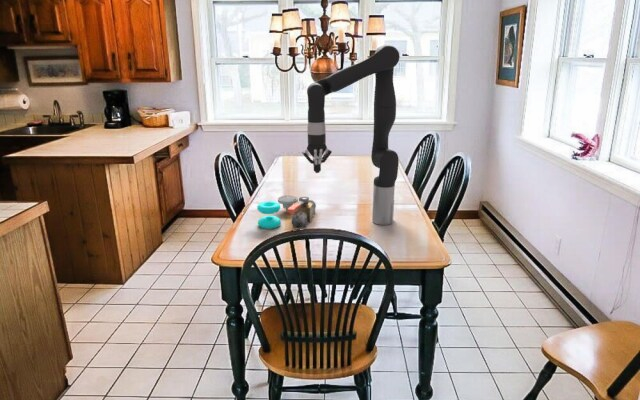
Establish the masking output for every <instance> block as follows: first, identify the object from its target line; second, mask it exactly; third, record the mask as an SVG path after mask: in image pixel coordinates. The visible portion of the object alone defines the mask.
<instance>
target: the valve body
mask: <svg viewBox="0 0 640 400" xmlns="http://www.w3.org/2000/svg"><path fill="white" fill-rule="evenodd" d="M316 207H317V205H316V202H315V201H314V200H312V199H309V204H305V205H302V206H301V208H300V209H298V210H297V211H296V212H295V213H294V215H293V217H292V218H291V225H292V227H294V228H295V229H301V228H307V227H308V223H309V224H311V222H312V220H313V219H314V217H315V214H316Z"/></svg>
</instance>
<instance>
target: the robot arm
mask: <svg viewBox="0 0 640 400" xmlns="http://www.w3.org/2000/svg"><path fill="white" fill-rule="evenodd" d="M399 61H400V52H399V49H398V48H396V47H395V46H393V45H389V44H382V45H379V46H378V47H377V48H376V50H375V52H374V54H373V55H371V56H370V57H368V58H366V59H364V60H362V61H360V62H358V63H355V64H352V65H349V66H347V67H345V68H343V69H340V70H338V71H336V72H334V73H332V74H330V75H328V76H327V77H325V78H321V79H319V80H316V81H314V82H313V83H311V84H309V85H308V87H307V89H306V94H307V106H308V109H307V147H306V150H304V151H302V152H301V154H302V155H303V156H304V157H305V158H306V160H307V161H308V162H309V163H310V164H312V165H313V166H312V167H313V171H314V172H315V174H319V173H320V172H321V170H322V167H321V166H322V164H323V163H326V161H327V160H328V158H329V156H331V154H332V152H333V151H332V150H331V149H329V148H328V147H327V144H326V140H327V138H326V135H327V133H326V131H327V130H326V113H325V102H326V101H325V99H326V96H328V95H330V94H332V93H336V92H340V91H341V90H343V89H345V88H347V87H350V86H351V85H353V84H355V83H356V82H359V81H361V80H363V79H365V78H366V77H369V76H372V75H375V85H374V95H373V97H374V99H373V136H372V137H373V139H372V147H371V156H370V157H371V158H370V159H371V163H372V165H373V166H374V167H376V168H378V169H379V170H378V172H379V173H378V176H375V177H374V179H373V188H372V189H373V193H372V214H371V215H372V217H371V218H372V220H371V221H372V223H374V224H376V225H381V226H386V225H387V226H388V225H393V223H394V211H395V187H396V181H397V179H398V173H399V163H400V162H399V161H400V160H399V155H398V153H397V152H396V151H395V150H393V149H390V148H389V136H390V132H391V130H392V127H393V126H394V124H395V121H396V118H397V117H396V115H397V98H396V91H395V87H394V69H395V67H396V66H397V65H398V63H399ZM309 155H310V156H311V157H310V156H309Z"/></svg>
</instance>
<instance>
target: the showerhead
mask: <svg viewBox="0 0 640 400" xmlns="http://www.w3.org/2000/svg"><path fill="white" fill-rule="evenodd" d="M298 202H299V198H298V197H297V196H295V195H292V194H291V195H290V194H289V195H287V194H286V195H280V196H278V198H277V203H279V204H280V205H282V207H283V209H285V212H286V213H288V210H287V209H288V208H289V207H291V206H292V205H293V204H295V203H298Z"/></svg>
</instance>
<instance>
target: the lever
mask: <svg viewBox="0 0 640 400" xmlns="http://www.w3.org/2000/svg"><path fill="white" fill-rule="evenodd" d="M309 200H310V197H308V196H300V197H299V198H298V202H297V203H294V204H293V205H292V206H291V207H289V208H288V209H287V210H288V212H287V214H292V215H293V214H294V215H295V212H296V211H297V210H298V209H300V208H301V206H302V205H305V204H309Z"/></svg>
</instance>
